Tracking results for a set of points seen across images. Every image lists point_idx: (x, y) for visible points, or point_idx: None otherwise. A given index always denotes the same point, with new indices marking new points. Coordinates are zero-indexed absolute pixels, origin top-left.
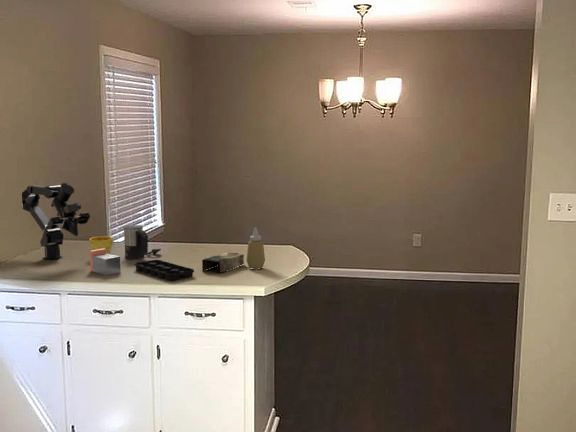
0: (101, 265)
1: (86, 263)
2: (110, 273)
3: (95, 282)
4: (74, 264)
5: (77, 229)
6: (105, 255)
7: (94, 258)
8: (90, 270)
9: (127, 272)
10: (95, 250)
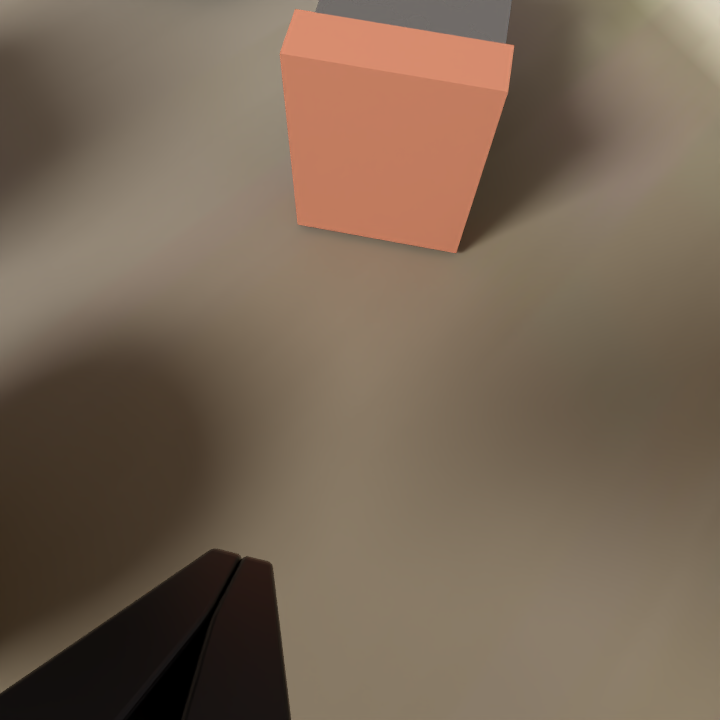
0: None
1: None
2: None
3: (671, 7)
4: (296, 685)
5: (75, 645)
6: (393, 8)
7: None
8: (455, 252)
9: None
10: (446, 48)
